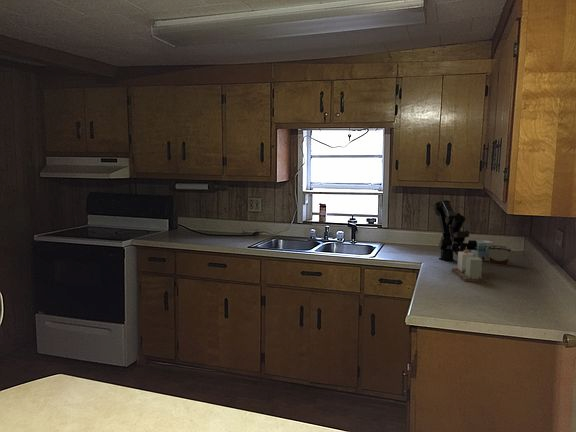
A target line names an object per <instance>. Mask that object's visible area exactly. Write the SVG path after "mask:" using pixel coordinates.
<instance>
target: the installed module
mask: <svg viewBox="0 0 576 432" xmlns="http://www.w3.org/2000/svg"><path fill="white" fill-rule="evenodd" d="M482 267H483V261H482V259H480V258H478V257H467V259H466V274H465V275H466V276H468V277H469V278H471V277H479V278H481V276H482V271H483V269H482Z"/></svg>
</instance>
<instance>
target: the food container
mask: <svg viewBox="0 0 576 432" xmlns="http://www.w3.org/2000/svg"><path fill="white" fill-rule="evenodd" d="M488 249H489V260H488V264H490V265H496V266H497V265H498V266H505V267H508V265H509V260H510V259H509V258H510V254H511V252H512V248H511V247H509V246H506V245H497V244H494V245H491V246H489V247H488Z"/></svg>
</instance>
